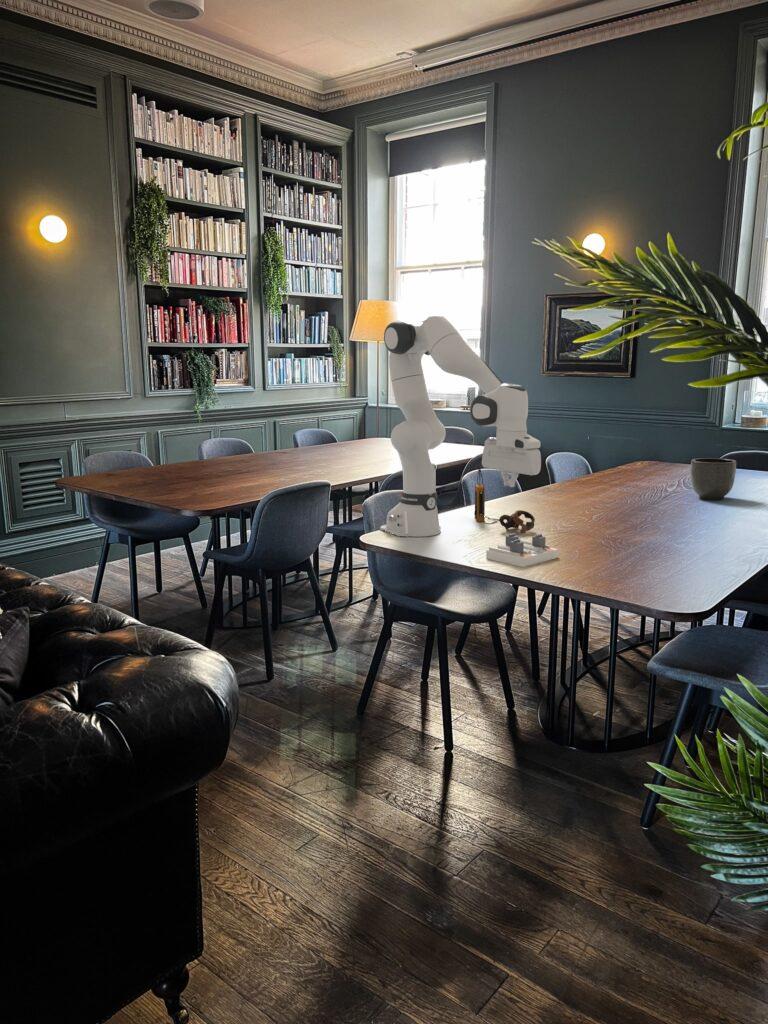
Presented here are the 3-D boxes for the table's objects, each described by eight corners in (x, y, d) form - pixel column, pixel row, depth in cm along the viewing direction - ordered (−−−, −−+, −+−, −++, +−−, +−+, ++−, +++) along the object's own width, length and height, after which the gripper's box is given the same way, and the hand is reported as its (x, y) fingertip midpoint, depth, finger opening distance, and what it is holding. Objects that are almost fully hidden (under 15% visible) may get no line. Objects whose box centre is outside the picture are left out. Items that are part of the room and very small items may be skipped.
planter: (683, 495, 329) (685, 458, 326) (724, 494, 328) (726, 457, 325) (697, 502, 312) (700, 463, 309) (740, 501, 311) (743, 462, 308)
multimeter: (506, 524, 276) (506, 469, 272) (478, 524, 276) (478, 469, 272) (499, 516, 291) (500, 463, 287) (473, 516, 290) (473, 464, 287)
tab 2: (532, 547, 229) (532, 534, 228) (537, 546, 230) (537, 533, 230) (540, 548, 226) (540, 536, 226) (545, 547, 228) (545, 534, 227)
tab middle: (505, 546, 230) (505, 533, 229) (510, 545, 232) (510, 532, 231) (513, 548, 228) (513, 535, 227) (518, 547, 229) (518, 534, 229)
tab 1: (509, 552, 222) (510, 539, 222) (515, 551, 224) (515, 538, 223) (517, 554, 220) (518, 541, 219) (523, 553, 222) (523, 540, 221)
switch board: (486, 558, 228) (486, 547, 227) (521, 549, 238) (521, 539, 237) (523, 567, 217) (523, 555, 216) (558, 557, 227) (558, 546, 226)
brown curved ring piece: (524, 528, 270) (533, 510, 266) (530, 545, 263) (540, 527, 258) (493, 521, 268) (502, 503, 263) (498, 538, 260) (507, 520, 255)
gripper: (478, 437, 231) (476, 482, 233) (530, 443, 215) (528, 492, 218) (492, 435, 234) (490, 480, 237) (545, 442, 219) (542, 490, 222)
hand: (509, 486), depth 227 cm, fingers closed
